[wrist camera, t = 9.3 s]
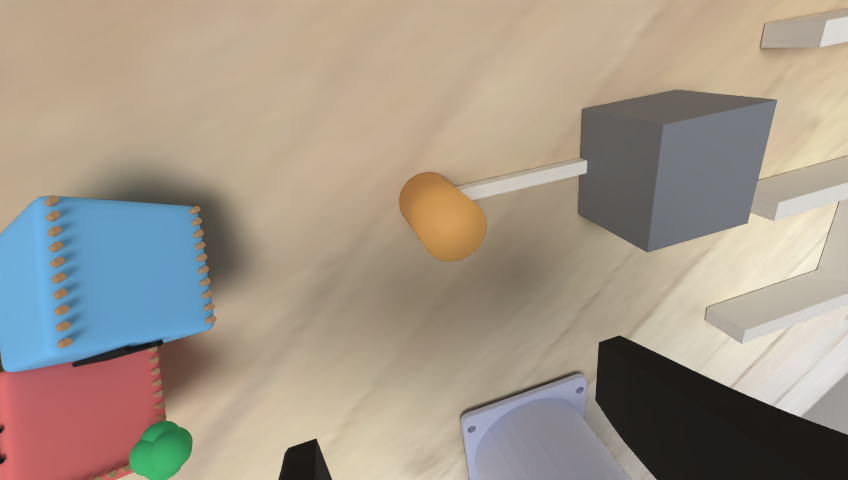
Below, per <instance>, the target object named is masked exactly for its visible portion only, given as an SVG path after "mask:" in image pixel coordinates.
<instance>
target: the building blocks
mask: <svg viewBox="0 0 848 480" xmlns="http://www.w3.org/2000/svg"><path fill="white" fill-rule="evenodd" d="M199 211H200V208H199V207H198V206H195V207H191V206H184V205H171V204H157V203H144V202H130V201H116V200H102V199H89V198H75V197H61V196H54V195H52V196H45V197H39V198H37V199H35V200H34V201H33V202H32V203H31V204H30V205H29V206H28V207H27V208H26V209H25V210H24V211H23V212H22V213H21V214H20V215H19V216H18V217H17V218H16V219H15V220H14V221H13V222H12V223H11V224H10V225H9V226H8V227H7V228H6V229H5V230H4V231H3V232H2V233H1V234H0V351H1V362H2V366H3V369H4V370H5V371H2V372H0V480H116V479H118V478H121V477H123V476H126V475H128V474H131V473H133V472H135V473H136V474H138V475H141V476H145V477H146V478H147V479H149V480H167V479H169V478H170V477H172V476H173V475H175V474H176V473H177V472H178V471H179V469H180V468H181V466H182V465H183V464H184V463H185V462H186V461H187V459H188V458H189V456H190V454H191V451H192V436H191V434H190V433H189V432H188V431H187V430H186V429H184V428H182V427H179V426H178V425H177V424H175V423H174V422H171V421H166V415H165V407H164V406H165V404H164V399H163V391H162V381H161V375H160V371H161V370H160V367H159V358H158V353H157V349H158V347H157V346H160V345H162V344H163V343H166V342H169V341H172V340H176V339H179V338H183V337H186V336H190V335H193V334H197V333H200V332H203V331H206V330H209V329H210V328H212V327H213V324H214V322H215V321H216V317H215V316H213V309H214V307H215V306H214V304H213V303H212V302H211V296H212V295H213V293H212V291H210V288H209V284H210V283H211V280H210V279H209V278H208V275H207V272H208V271H209V267H208V266H206V261H205V260H206V259H207V255H206V254H204V247H205V243H204V242H203V241H202V235H203V234H204V232H203V231H202V230H201V227H200V223H202V220H201V219H200V218H199V217H198V213H197V212H199Z"/></svg>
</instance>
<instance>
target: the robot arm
mask: <svg viewBox="0 0 848 480" xmlns="http://www.w3.org/2000/svg"><path fill="white" fill-rule="evenodd" d="M586 390H587V379H586V378H585V377H584V376H583V375H582V374H575V375H572V376H569V377H567V378H564V379H561V380H558V381H555V382H552V383H550V384H547V385H544V386H541V387H538V388H535V389H533V390H530V391H527V392H524V393H521V394H518V395H516V396H513V397H510V398H507V399H504V400H501V401H498V402H496V403H493V404H490V405H487V406H484V407H481V408H479V409H476V410H473V411H470V412H467V413H465V414H464V415H463V416H462V418H461V428H462V435H463V442H464V448H465V455H466V462H467V469H468V476H469V480H632V479H631V478H630V476H629V475H628V474H627V473H626V471H625V470H624V469H623V468H622V466H621V465H620V464H619V463H618V461H617V460H616V459H615V458H614V456H613V455H612V454H611V453H610V451H609V450H608V449H607V447H606V446H605V445H604V444H603V442H602V441H601V440H600V439H599V437H598V436H597V435H596V434H595V432H594V431H593V430H592V429H591V427H590V426H589V425H588V424H587V422H586V421H585V410H586ZM595 400H596V402H597V403H598V405H599V406H600V408H601V409H602V411H603V412H604V414H605V415H606V417H607V418H608V420H609V421H610V423H611V424H612V426H613V427H614V428H615V430H616V431H617V433H618V434H619V436H620V437H621V438H622V439H623V441H624V442H625V443H626V444H627V445H628V447H629V448H630V449H631V450H632V451H633V452H634V454H635V455H636V456H637V457H638V458H639V460H640V461H641V462H642V463H643V464H644V465H645V467H646V468H647V469H648V470H649V471H650V472H651V474H652V475H653V476H654V477H655V478H656V479H657V480H848V435H847V434H844V433H841V432H839V431H836V430H833V429H830V428H828V427H825V426H822V425H819V424H816V423H814V422H811V421H808V420H806V419H803V418H801V417H798V416H796V415H793V414H790V413H788V412H785V411H783V410H781V409H778V408H776V407H773V406H771V405H769V404H766V403H764V402H762V401H759V400H757V399H754V398H752V397H750V396H747V395H745V394H743V393H741V392H738V391H736V390H734V389H732V388H729V387H727V386H725V385H723V384H721V383H718V382H716V381H714V380H712V379H710V378H708V377H705V376H703V375H701V374H699V373H697V372H695V371H693V370H691V369H689V368H687V367H684V366H682V365H680V364H678V363H676V362H674V361H672V360H670V359H668V358H666V357H664V356H662V355H660V354H658V353H656V352H654V351H652V350H649V349H647V348H645V347H643V346H641V345H639V344H637V343H635V342H633V341H631V340H628V339H626V338H624V337H622V336H617V337H614V338H611V339H608V340H605V341H602V342H599V350H598V366H597V382H596V398H595ZM279 480H332V478H331V476H330V473H329V470H328V468H327V465H326V463H325V460H324V457H323V455H322V452H321V450H320V447H319V444H318V442H317V439H313V440H311V441H308V442H305V443H302V444H299V445H296V446H293V447H290V448H288V449H287V451H286V452H285V455H284V459H283V464H282V468H281V472H280V476H279Z"/></svg>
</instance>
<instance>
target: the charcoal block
mask: <svg viewBox="0 0 848 480" xmlns="http://www.w3.org/2000/svg"><path fill="white" fill-rule="evenodd" d="M776 103H777V100H774V99H764V98H754V97H744V96H734V95H724V94H714V93H704V92H694V91H684V90H674V91H669V92H664V93H659V94H654V95H649V96H644V97H639V98H634V99H629V100H624V101H619V102H614V103H609V104H604V105H599V106H594V107H589V108H584V109H582V129H581V154H580V158H578V159H574V160H569V161H565V162H561V163H556V164H552V165H548V166H543V167H539V168H534V169H530V170H526V171H521V172H517V173H513V174H508V175H504V176H500V177H495V178H491V179H486V180H482V181H478V182H473V183H469V184H465V185H460V186H456V187H455V186H454V185H453V184H451V183H450V182H449V181H448V180H446V179H445V178H444V177H443V176H441V175H439V174H436V173H431V172H428V173H422V174H419V175H416V176H414V177H413V178H411V179H410V180H409V181H408V182H407V183H406V184H405V186H404V187H403V189H402V191H401V194H400V199H399V204H400V210H401V212H402V214H403V216H404V217H405V219H406V220H407V221H408V223H409V224H410V226H411V227H412V229H413V230H414V232H415V233H416V234H417V236H418V237H419V239H420V240H421V242H422V243H423V244H424V246H425V247H426V249H427V250H428V251H429V253H430V254H431V255H432V256H434V257H435V258H437V259H440V260H443V261H457V260H461V259H463V258H465V257H467V256H469V255H470V254H472V253H473V252H474V251H475V250H476V249H477V248H478V247H479V246H480V244H481V243H482V241H483V239H484V236H485V233H486V227H487V223H486V217H485V214H484V212H483V211H482V209H481V208H480V207H479V206H478V205H477V204H476V203H475V202H473V201H472V200H476V199H481V198H485V197H489V196H493V195H497V194H502V193H506V192H510V191H514V190H518V189H523V188H527V187H531V186H535V185H539V184H544V183H548V182H552V181H556V180H560V179H565V178H569V177H573V176H577V175H580V180H579V205H578V214H580V215H582V216H583V217H585V218H587V219H589V220H591V221H592V222H594V223H596V224H598V225H599V226H601V227H603V228H605V229H607V230H608V231H610V232H612V233H614V234H615V235H617V236H619V237H621V238H623V239H624V240H626V241H628V242H630V243H631V244H633V245H635V246H637V247H639V248H640V249H642V250H644V251H646V252H650V251H654V250H657V249H661V248H664V247H668V246H671V245H674V244H678V243H681V242H685V241H688V240H692V239H695V238H698V237H702V236H705V235H709V234H712V233H716V232H719V231H722V230H726V229H729V228H733V227H736V226H739V225H743V224H746V223H748V219H749V215H750V211H751V207H752V203H753V198H754V194H755V190H756V186H757V182H758V178H759V174H760V169H761V165H762V161H763V157H764V153H765V149H766V144H767V140H768V136H769V132H770V128H771V124H772V120H773V115H774V111H775V107H776Z"/></svg>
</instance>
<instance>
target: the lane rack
mask: <svg viewBox="0 0 848 480" xmlns="http://www.w3.org/2000/svg"><path fill="white" fill-rule="evenodd" d="M843 42H848V9H843V10H837V11H832V12H827V13H821V14H816V15H811V16H805V17H800V18H794V19H789V20H784V21H778V22H773V23H768V24H765V27H764V32H763V37H762V42H761V47H760V48H795V47H824V46H828V45H833V44H838V43H843ZM838 201H840V202H839V205H838V208H837V211H836V214H835V217H834V220H833V223H832V226H831V229H830V232H829V235H828V238H827V241H826V244H825V247H824V250H823V253H822V256H821V259H820V262H819V265H818V268H817V270H815V271H812V272H809V273H806V274H803V275H800V276H797V277H794V278H791V279H789V280H786V281H783V282H780V283H777V284H774V285H771V286H768V287H765V288H762V289H759V290H756V291H753V292H750V293H747V294H744V295H742V296H739V297H736V298H733V299H730V300H727V301H724V302H721V303H718V304H715V305H712V306H709V307H707V311H706V316H705V320H706V321H707V322H709V323H711V324H712V325H714V326H715V327H717V328H718V329H720V330H721V331H723V332H724V333H726V334H727V335H729V336H731V337H732V338H734V339H735V340H737V341H738V342H740V343H741V344H743V343H745V342H748V341H751V340H753V339H756V338H759V337H762V336H764V335H767V334H770V333H772V332H775V331H778V330H781V329H783V328H786V327H789V326H791V325H794V324H797V323H800V322H802V321H805V320H808V319H810V318H813V317H816V316H819V315H821V314H824V313H827V312H829V311H832V310H835V309H838V308H840V307H843V306H846V305H848V156H845V157H842V158H838V159H834V160H831V161H827V162H824V163H820V164H816V165H813V166H809V167H806V168H802V169H798V170H795V171H791V172H788V173H784V174H780V175H777V176H773V177H769V178H766V179H762V180H759V181H758V182H757V186H756V190H755V194H754V198H753V203H752V207H751V211H750V213H753V214H756V215H758V216H761V217H764V218H767V219H770V220H773V221H776V220H779V219H782V218H786V217H789V216H792V215H795V214H799V213H802V212H805V211H809V210H812V209H815V208H819V207H822V206H825V205H828V204H832V203H835V202H838Z"/></svg>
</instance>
